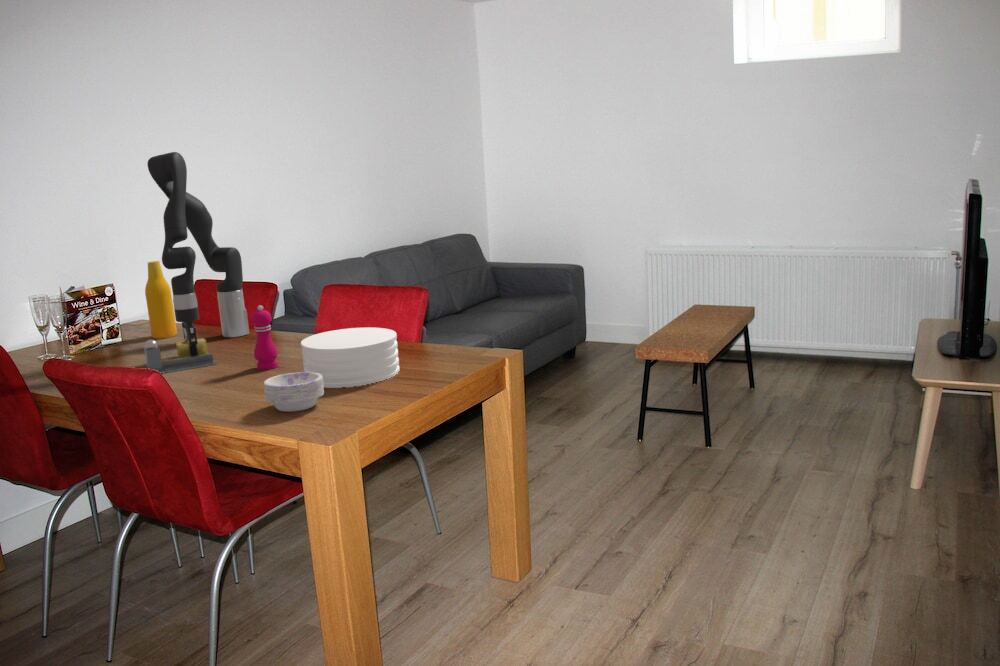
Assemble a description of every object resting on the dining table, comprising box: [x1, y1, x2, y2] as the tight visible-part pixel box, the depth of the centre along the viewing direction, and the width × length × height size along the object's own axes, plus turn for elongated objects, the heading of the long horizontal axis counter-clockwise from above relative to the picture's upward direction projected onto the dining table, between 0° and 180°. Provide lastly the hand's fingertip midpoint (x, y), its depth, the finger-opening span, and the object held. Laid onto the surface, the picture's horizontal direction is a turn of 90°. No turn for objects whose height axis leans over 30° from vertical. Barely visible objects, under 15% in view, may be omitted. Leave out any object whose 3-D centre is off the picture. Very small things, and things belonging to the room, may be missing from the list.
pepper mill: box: [251, 304, 279, 371], centre depth 267 cm, size 7×7×20 cm
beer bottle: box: [144, 260, 178, 340], centre depth 325 cm, size 9×9×29 cm
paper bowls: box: [263, 371, 325, 413], centre depth 224 cm, size 15×15×8 cm
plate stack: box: [300, 327, 401, 389], centre depth 253 cm, size 28×28×12 cm
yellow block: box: [175, 337, 209, 358], centre depth 289 cm, size 9×6×6 cm, turn 118°
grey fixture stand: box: [143, 339, 217, 374], centre depth 276 cm, size 20×12×10 cm, turn 118°
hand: (192, 354), depth 289 cm, fingers open, 6 cm apart
